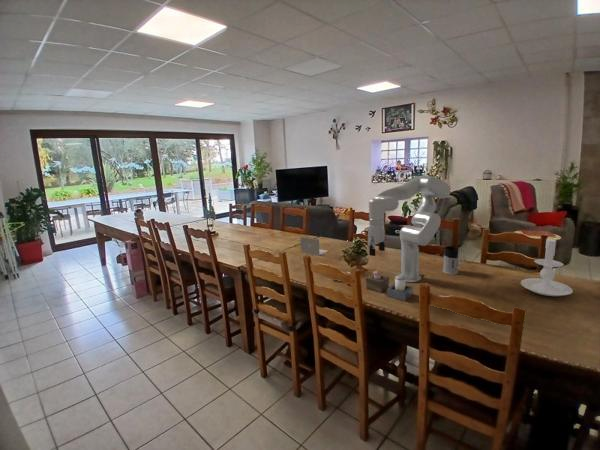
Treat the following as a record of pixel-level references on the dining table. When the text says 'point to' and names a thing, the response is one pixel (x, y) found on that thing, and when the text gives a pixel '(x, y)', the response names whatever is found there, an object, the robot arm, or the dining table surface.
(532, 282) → the candlestick
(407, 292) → the cartridge housing
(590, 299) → the dining table surface
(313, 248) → the laptop
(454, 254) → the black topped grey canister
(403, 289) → the filter cartridge
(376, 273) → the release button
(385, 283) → the grey square box
